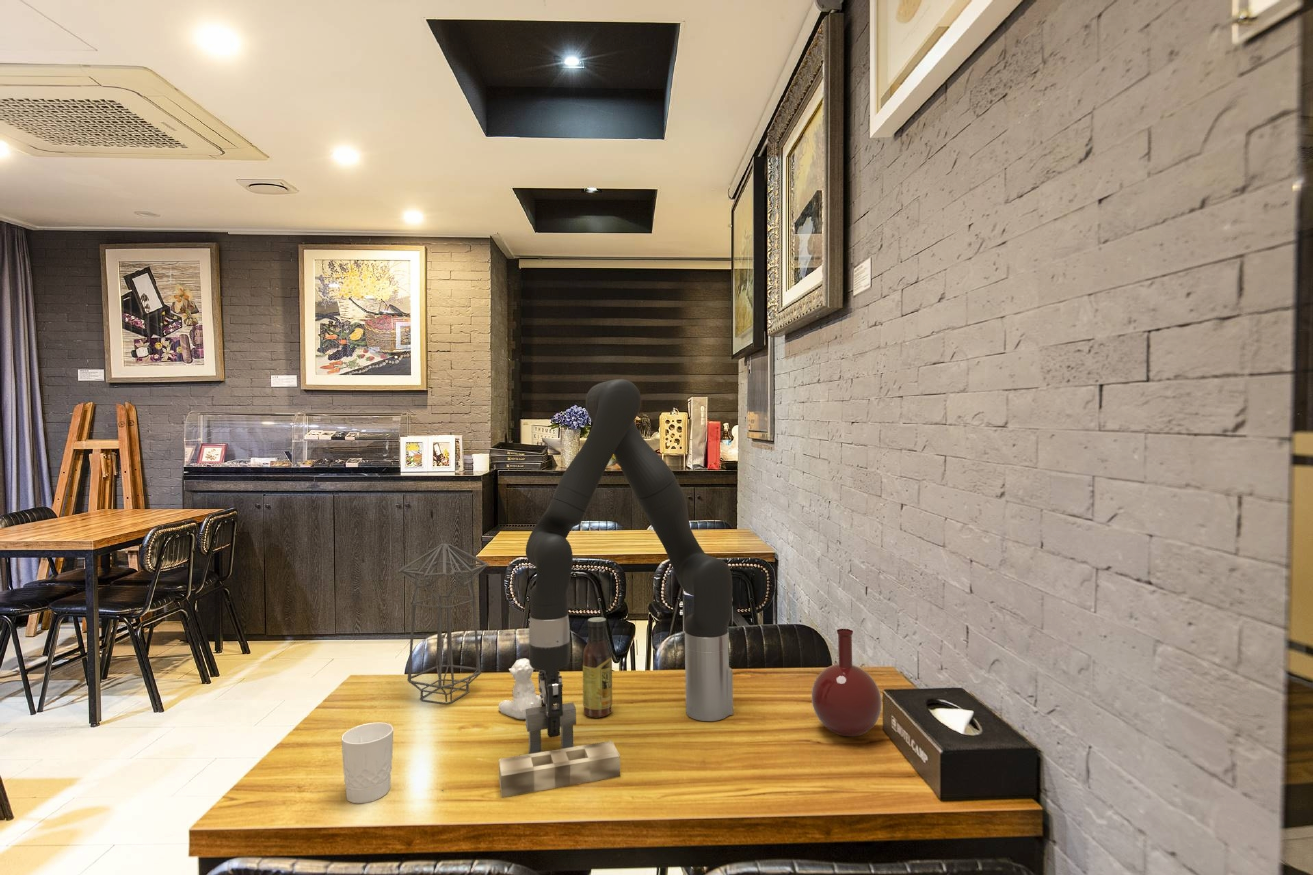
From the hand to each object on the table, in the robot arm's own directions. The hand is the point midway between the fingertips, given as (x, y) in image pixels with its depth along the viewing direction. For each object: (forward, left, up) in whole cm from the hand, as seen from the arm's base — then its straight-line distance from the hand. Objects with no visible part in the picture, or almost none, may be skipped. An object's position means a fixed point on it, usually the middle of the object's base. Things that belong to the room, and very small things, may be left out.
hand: (550, 726), depth 120 cm
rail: (0, +10, -5) cm, 11 cm away
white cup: (+31, +4, -5) cm, 32 cm away
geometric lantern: (+19, -36, -5) cm, 41 cm away
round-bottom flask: (-56, +12, -5) cm, 58 cm away
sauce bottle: (-12, -14, -5) cm, 19 cm away
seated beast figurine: (+3, -19, -5) cm, 20 cm away
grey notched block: (0, 0, -5) cm, 5 cm away
